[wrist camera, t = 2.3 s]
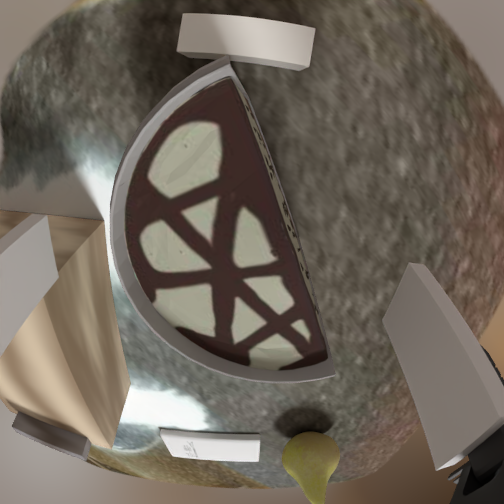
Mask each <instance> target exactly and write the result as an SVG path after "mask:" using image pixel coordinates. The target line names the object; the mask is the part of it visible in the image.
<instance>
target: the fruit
mask: <svg viewBox="0 0 504 504" xmlns="http://www.w3.org/2000/svg"><path fill="white" fill-rule="evenodd" d="M339 457H340V453H339V448H338V446H337V444H336V443H335V441H334V440H333V439H332V438H331V437H329V436H327V435H324V434H322V433H317V432H303V433H300V434H298V435H296V436H294V437H293V438H292V439H291V440H290V441H289V442H288V443H287V444H286V446H285V448H284V450H283V453H282V463H283V466H284V468H285V469H286V471H287V472H288V473H289V474H290V475H291V476H292V477H293V478H294V479H295V480H296V481H297V482H298V484H299V485H300V487H301V488H302V490H303V492H304V493H305V495H306V497H307V498H308V499H309V501H310V502H311V503H312V504H325V494H326V487H327V482H328V479H329V477H330V476H331V474H332V473H333V472H334V470H335V469H336V467H337V465H338V462H339Z"/></svg>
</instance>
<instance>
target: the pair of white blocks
mask: <svg viewBox="0 0 504 504" xmlns="http://www.w3.org/2000/svg"><path fill="white" fill-rule="evenodd" d="M314 34H315V28H312V27H307V26H302V25H297V24H292V23H286V22H281V21H274V20H268V19H261V18H253V17H244V16H233V15H220V14H198V13H183V16H182V22H181V27H180V33H179V40H178V46H177V52H179V53H181V54H183V55H185V56H187V57H188V58H201V59H216V60H217V59H220V58H222V57H224V56H226V55H228V56H229V58H230V61H237V62H246V63H254V64H261V65H268V66H274V67H281V68H286V69H292V70H297V71H300V70H303V69H305V68H307V67H309V65H310V59H311V53H312V47H313V41H314Z"/></svg>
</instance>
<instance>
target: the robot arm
mask: <svg viewBox="0 0 504 504" xmlns="http://www.w3.org/2000/svg"><path fill="white" fill-rule="evenodd" d="M58 278H59V276H58V271H57V267H56V262H55V257H54V253H53V247H52V242H51V236H50V230H49V224H48V217H47V215H43V214H34V213H33V214H31V215H30V216H29V217H27V218H26V219H25V220H23V221H22V222H21V223H19V224H18V225H17V226H16V227H14V228H13V229H12V230H11V231H9V232H8V233H7V234H6V235H5V236H3V237H2V238H1V239H0V357H1V356H2V354H3V352H4V351H5V349H6V348H7V346H8V345H9V343H10V342H11V340H12V339H13V338H14V336H15V335H16V333H17V332H18V330H19V329H20V328H21V326H22V325H23V323H24V322H25V321H26V319H27V318H28V316H29V315H30V314H31V312H32V311H33V310H34V308H35V307H36V306H37V304H38V303H39V302H40V301H41V299H42V298H43V297H44V295H45V294H46V293H47V292H48V290H49V289H50V288H51V287H52V285H53V284H54V283H55V282H56V280H57V279H58ZM382 322H383V324H384V326H385V329H386V331H387V334H388V336H389V338H390V341H391V343H392V345H393V348H394V350H395V353H396V355H397V358H398V360H399V363H400V365H401V368H402V370H403V373H404V376H405V378H406V381H407V383H408V386H409V389H410V392H411V394H412V397H413V400H414V403H415V405H416V408H417V411H418V414H419V417H420V420H421V423H422V426H423V429H424V432H425V435H426V438H427V441H428V445H429V448H430V451H431V454H432V458H433V461H434V465H435V468H436V470H439V469H442V468H445V467H448V466H451V465H455V464H456V463H457V462H459V461H460V460H461V459H463V458H464V457H465V456H467V455H468V457H469V461H468V462H467V463H465V464H464V465H462V466H461V467H460V468H458V469H457V470H455V471H454V472H453V473H451V474H450V476H449V477H448V480H451V479H453V478H454V477H456V476H457V475H459V474H460V473H461V475H460V476H459V477H458V478H456V479H455V480H454V481H453V482H454V483H456V484H457V486H456V489H455V492H454V495H453V497H452V499H451V502H450V504H504V380H503V378H502V377H501V374H500V372H499V371H498V369H497V368H495V363H494V362H493V360H492V358H491V357H490V355H489V353H488V352H487V351H486V350H485V349H484V348H483V347H482V346H481V345H480V344H479V342H478V341H477V339H476V338H475V336H474V334H473V333H472V331H471V330H470V328H469V327H468V325H467V323H466V322H465V320H464V319H463V317H462V316H461V314H460V313H459V311H458V310H457V309H456V307H455V306H454V304H453V303H452V301H451V300H450V298H449V297H448V296H447V294H446V293H445V291H444V290H443V289H442V287H441V286H440V285H439V283H438V282H437V280H436V279H435V278H434V276H433V275H432V274H431V272H430V271H429V270H428V269H427V267H426V266H425V265H422V264H415V263H408V265H407V267H406V270H405V272H404V274H403V277H402V279H401V281H400V284H399V286H398V288H397V290H396V292H395V294H394V297H393V299H392V301H391V303H390V305H389V307H388V309H387V311H386V313H385V315H384V317H383V319H382Z"/></svg>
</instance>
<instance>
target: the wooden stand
mask: <svg viewBox="0 0 504 504" xmlns="http://www.w3.org/2000/svg"><path fill="white" fill-rule="evenodd" d="M31 214H33V213H25V212H14V211H4V210H0V239H1V238H2V237H3V236H5V235H6V234H7V233H8V232H9V231H11V230H12V229H13V228H14V227H16V226H17V225H18V224H19V223H21V222H22V221H23V220H25V219H26V218H27V217H29V216H30V215H31ZM34 214H35V213H34ZM43 215H45V214H43ZM47 217H48V224H49V230H50V236H51V242H52V247H53V253H54V257H55V262H56V267H57V271H58V276H59V278H58V279H57V280H56V282H55V283H54V284H53V285H52V287H51V288H50V289H49V290H48V292H47V293H46V294H45V295H44V297H43V298H42V299H41V301H40V302H39V303H38V304H37V306H36V307H35V308H34V310H33V311H32V312H31V314H30V315H29V316H28V318H27V319H26V321H25V322H24V323H23V325H22V326H21V328H20V329H19V330H18V332H17V333H16V335H15V336H14V338H13V339H12V340H11V342H10V343H9V345H8V346H7V348H6V349H5V351H4V352H3V354H2V356H1V357H0V399H1V400H2V401H3V403H4V404H5V405H6V407H7V408H8V409H9V410H10V411H11V412H13V413H15V414H17V416H16V418H15V420H14V422H13V425H12V427H13V428H14V430H15V431H16V432H17V433H19V434H22V435H24V436H26V437H28V438H30V439H32V440H34V441H36V442H39V443H41V444H43V445H46V446H48V447H50V448H53V449H55V450H58V451H60V452H63V453H66V454H68V455H71V456H74V457H77V458H79V459H82V460H85V461H86V460H87V456H88V453H89V450H90V446H91V443H92V444H95V445H99V446H102V447H105V448H109V449H112V446H113V443H114V439H115V435H116V432H117V428H118V425H119V421H120V418H121V414H122V411H123V407H124V404H125V401H126V398H127V394H128V391H129V388H130V385H131V382H130V378H129V374H128V370H127V366H126V361H125V357H124V353H123V348H122V343H121V339H120V334H119V329H118V323H117V318H116V312H115V307H114V301H113V294H112V288H111V281H110V273H109V265H108V257H107V247H106V237H105V225H104V221H102V220H92V219H83V218H74V217H64V216H54V215H47Z"/></svg>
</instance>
